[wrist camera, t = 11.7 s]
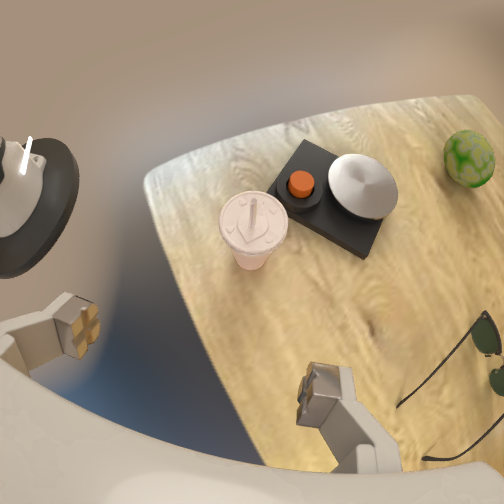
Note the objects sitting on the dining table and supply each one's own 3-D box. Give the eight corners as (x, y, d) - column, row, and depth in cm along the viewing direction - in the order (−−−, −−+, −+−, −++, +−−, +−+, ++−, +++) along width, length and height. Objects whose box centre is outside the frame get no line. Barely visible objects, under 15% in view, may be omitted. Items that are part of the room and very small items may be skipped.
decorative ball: (440, 143, 45) (465, 109, 36) (478, 176, 43) (506, 147, 34) (427, 173, 42) (457, 136, 33) (469, 209, 40) (504, 180, 31)
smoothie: (217, 273, 35) (203, 220, 22) (232, 225, 37) (228, 155, 24) (270, 287, 35) (287, 242, 22) (282, 238, 37) (303, 173, 24)
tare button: (283, 190, 36) (285, 183, 35) (294, 174, 37) (296, 166, 36) (305, 202, 36) (308, 195, 34) (315, 185, 37) (318, 177, 35)
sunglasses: (384, 387, 31) (404, 390, 26) (466, 314, 34) (488, 307, 29) (427, 473, 26) (447, 483, 21) (500, 398, 29) (521, 398, 25)
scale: (262, 202, 39) (263, 190, 36) (302, 144, 42) (305, 131, 40) (363, 260, 36) (372, 252, 34) (390, 193, 40) (399, 183, 37)
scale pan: (314, 194, 36) (315, 191, 35) (343, 145, 39) (344, 142, 39) (383, 234, 34) (385, 232, 34) (403, 180, 38) (405, 178, 37)
